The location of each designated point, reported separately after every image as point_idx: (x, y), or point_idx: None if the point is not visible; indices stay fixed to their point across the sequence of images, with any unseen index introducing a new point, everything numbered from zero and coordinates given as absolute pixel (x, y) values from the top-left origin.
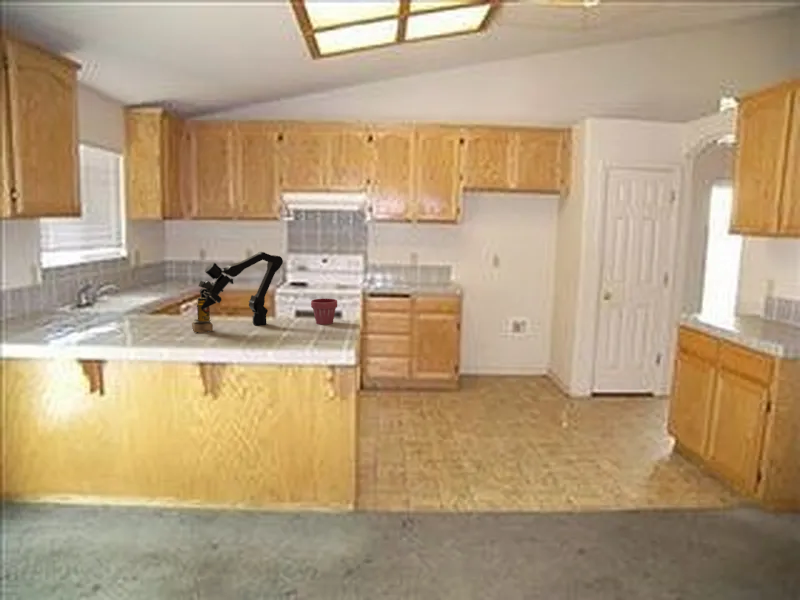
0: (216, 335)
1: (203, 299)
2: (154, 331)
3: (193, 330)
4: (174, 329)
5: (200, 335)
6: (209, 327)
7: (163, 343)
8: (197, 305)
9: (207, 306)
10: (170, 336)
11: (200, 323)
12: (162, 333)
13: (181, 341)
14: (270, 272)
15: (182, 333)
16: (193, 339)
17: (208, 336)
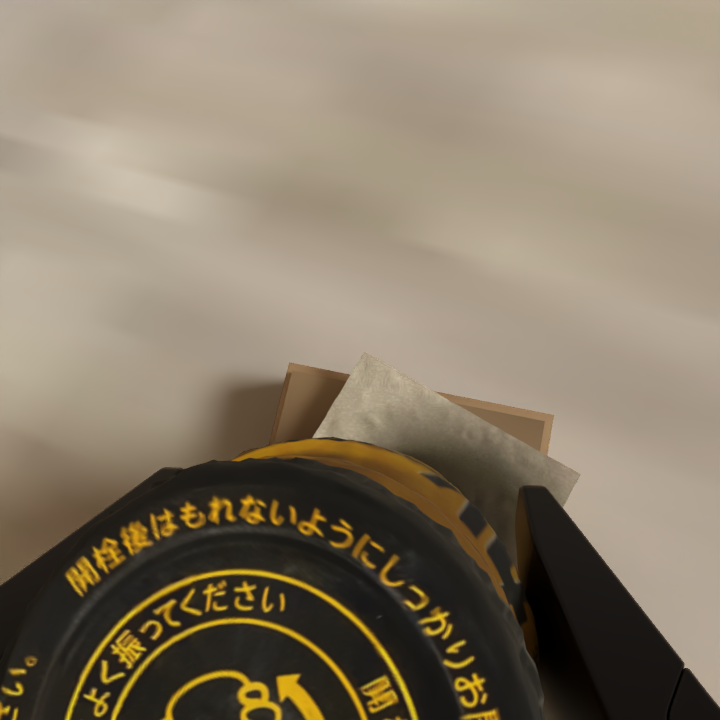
0: (26, 540)
1: (18, 655)
2: (652, 24)
3: None
4: (664, 238)
5: (138, 386)
6: None
7: (35, 6)
8: (336, 438)
9: None
10: (280, 112)
11: None
12: (485, 75)
13: (6, 147)
14: None
15: (360, 253)
16: (10, 263)
17: (37, 442)
